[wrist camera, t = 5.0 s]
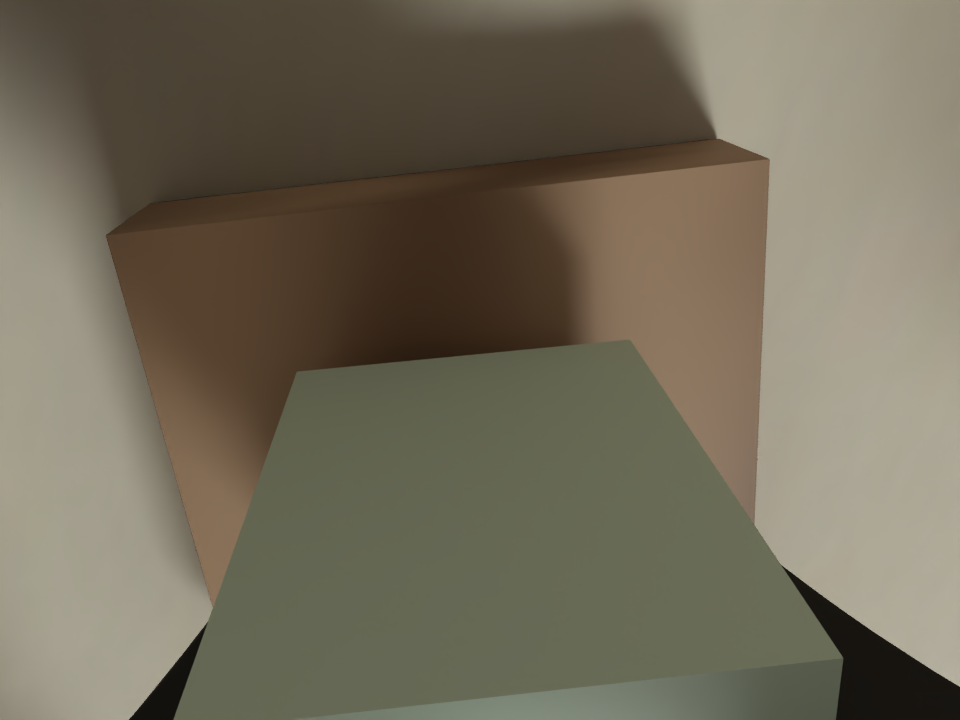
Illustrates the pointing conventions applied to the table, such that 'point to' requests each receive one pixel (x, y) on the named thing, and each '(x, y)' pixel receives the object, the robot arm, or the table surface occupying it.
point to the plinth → (446, 296)
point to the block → (502, 558)
